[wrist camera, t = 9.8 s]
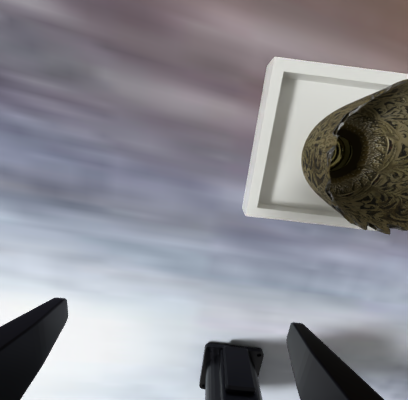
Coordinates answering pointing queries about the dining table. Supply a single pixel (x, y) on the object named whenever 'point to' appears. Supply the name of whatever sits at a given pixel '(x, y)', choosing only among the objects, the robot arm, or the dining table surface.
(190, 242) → the dining table surface
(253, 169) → the white tray
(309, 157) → the brown hollow flared piece
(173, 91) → the dining table surface
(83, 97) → the dining table surface
